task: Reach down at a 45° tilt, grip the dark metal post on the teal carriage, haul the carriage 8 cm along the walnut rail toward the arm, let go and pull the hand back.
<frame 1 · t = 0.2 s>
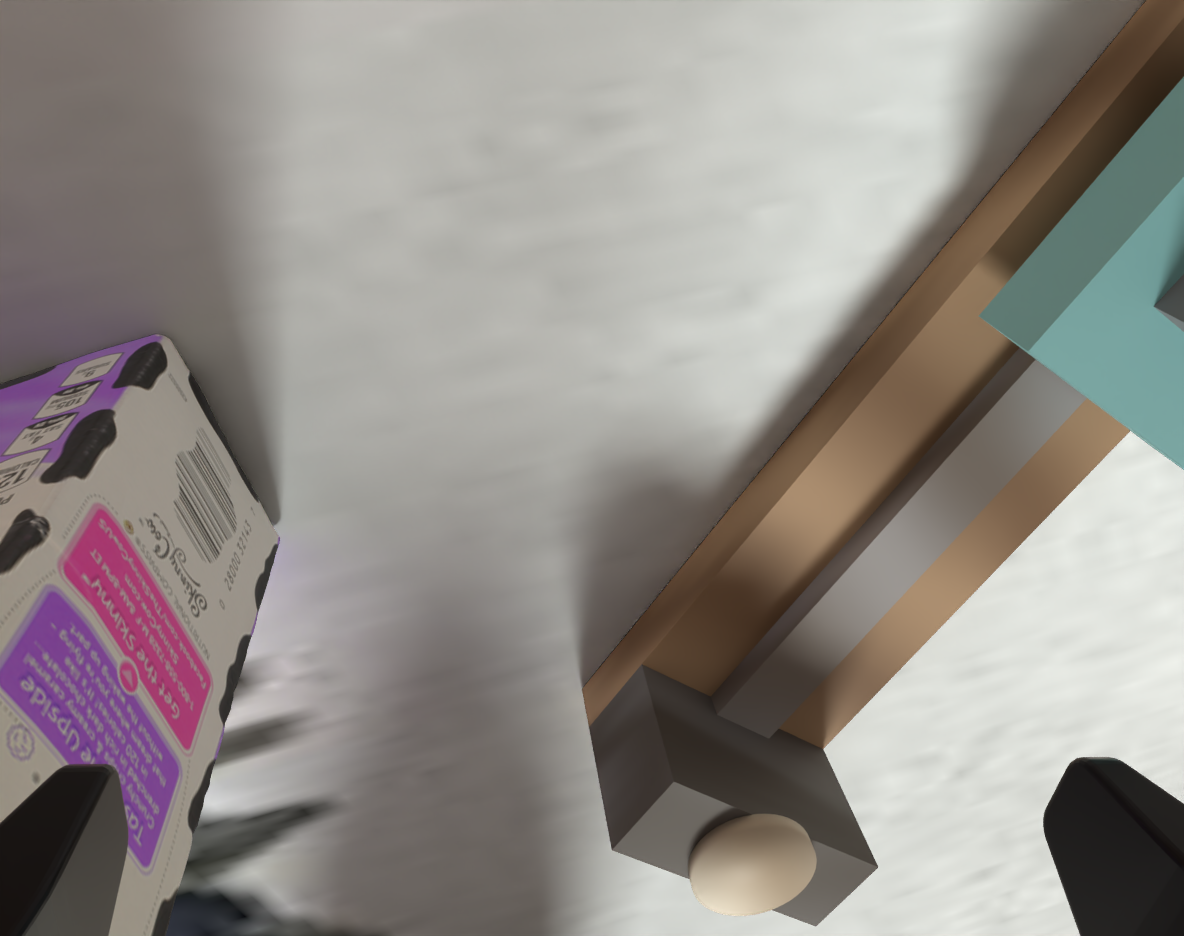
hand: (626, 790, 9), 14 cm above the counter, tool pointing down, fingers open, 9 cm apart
rail: (921, 445, 25), on the counter
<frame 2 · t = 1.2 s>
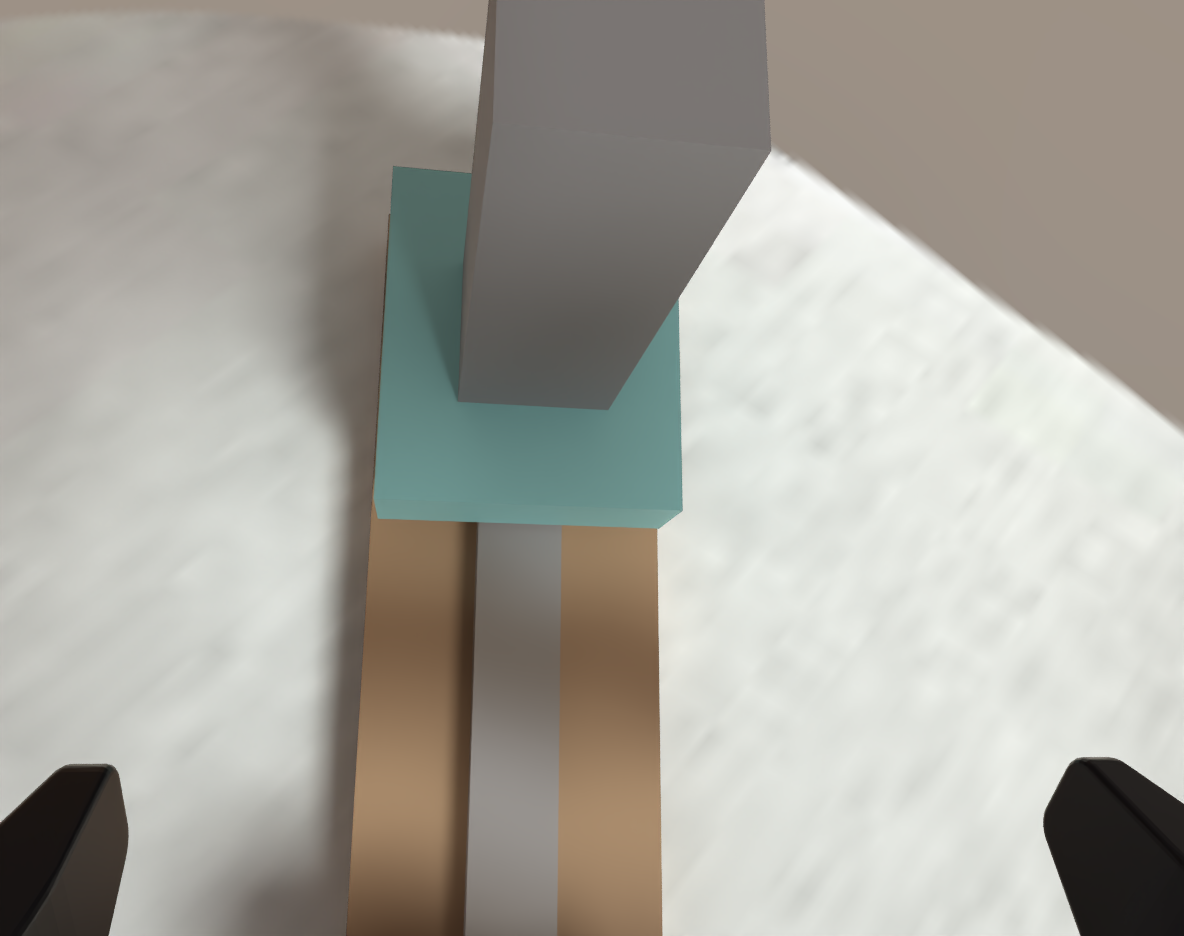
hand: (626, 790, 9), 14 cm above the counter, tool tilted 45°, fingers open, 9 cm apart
carriage: (561, 251, 16), point 8 cm above the counter, slide at 0.0 cm
rail: (507, 682, 22), on the counter
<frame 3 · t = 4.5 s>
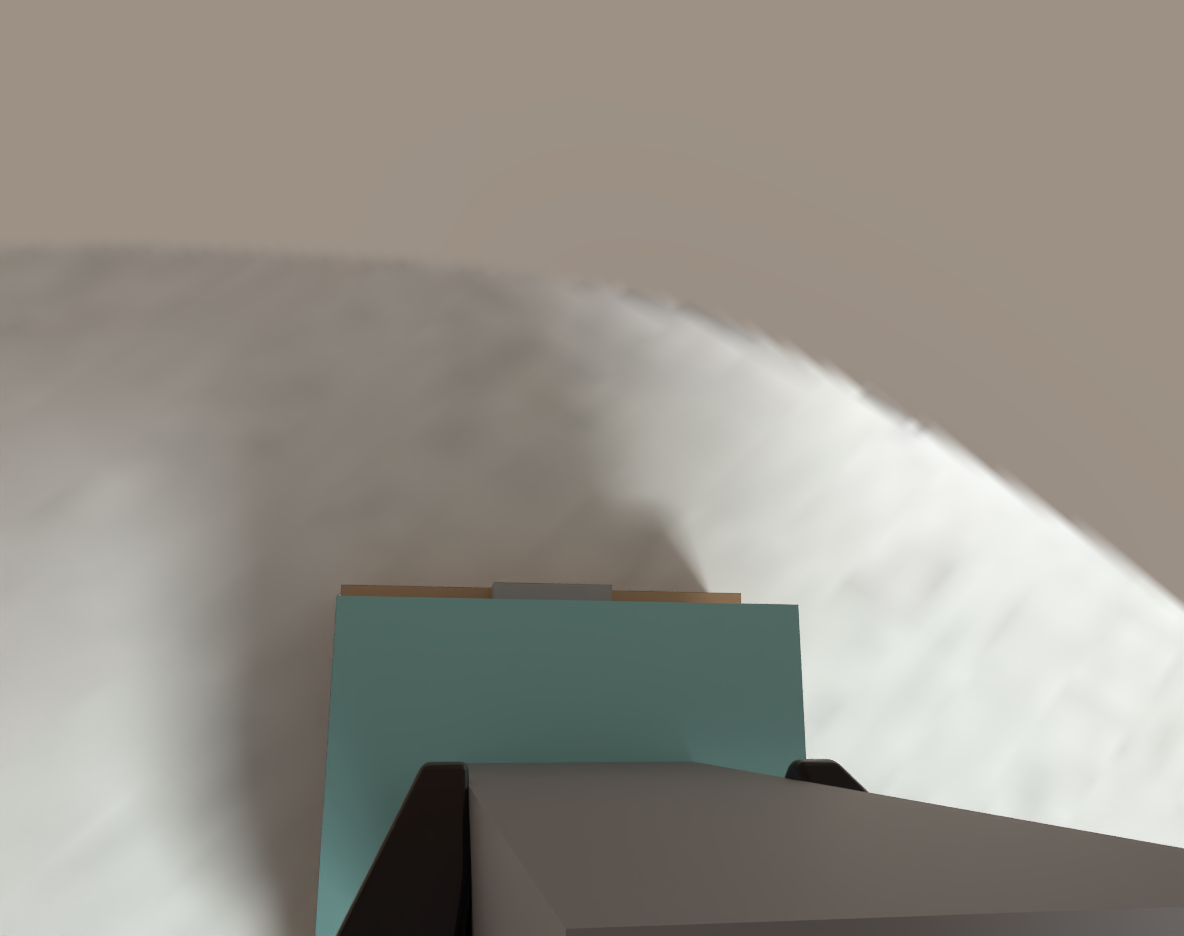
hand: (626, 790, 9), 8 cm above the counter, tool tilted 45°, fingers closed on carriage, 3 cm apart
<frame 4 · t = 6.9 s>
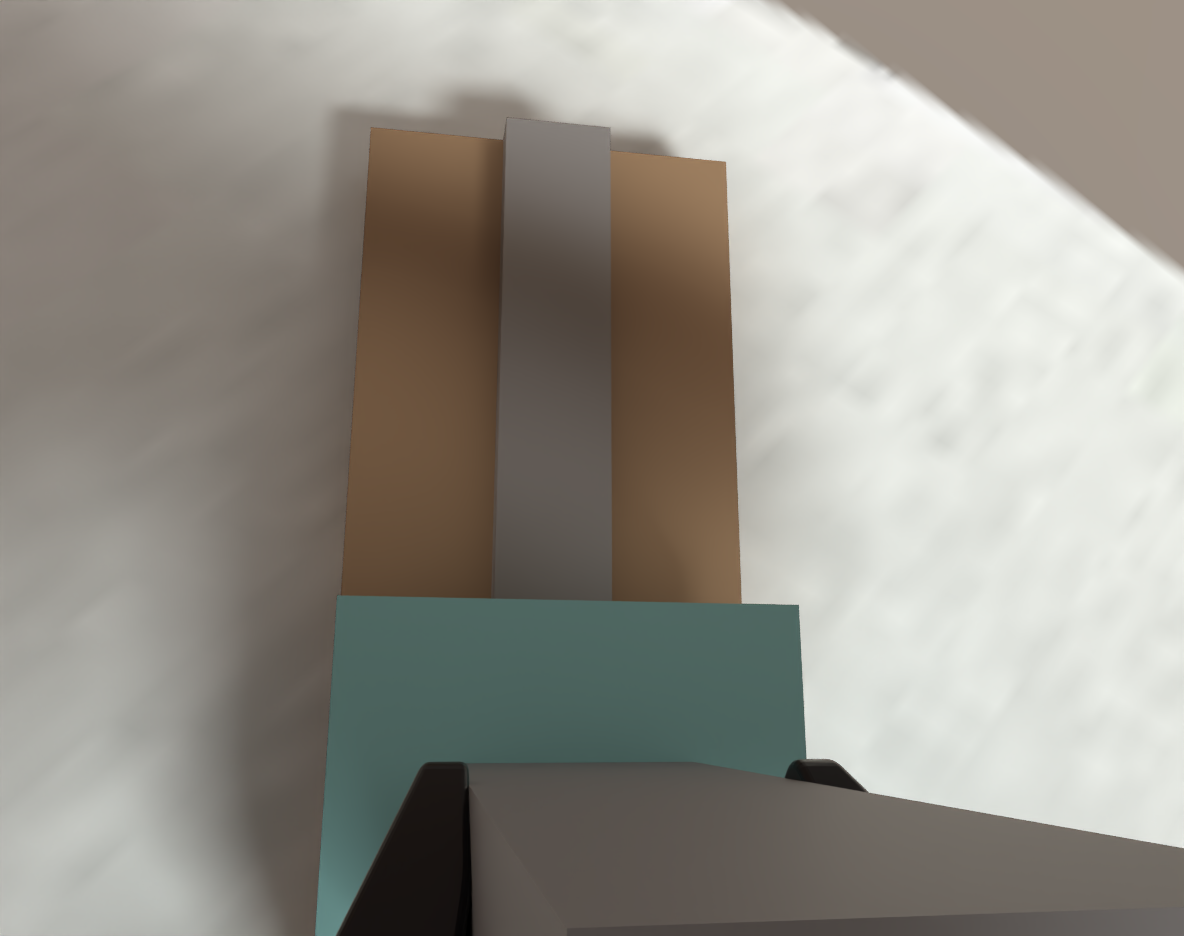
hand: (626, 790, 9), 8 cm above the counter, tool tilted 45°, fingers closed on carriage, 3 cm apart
rail: (534, 767, 16), on the counter
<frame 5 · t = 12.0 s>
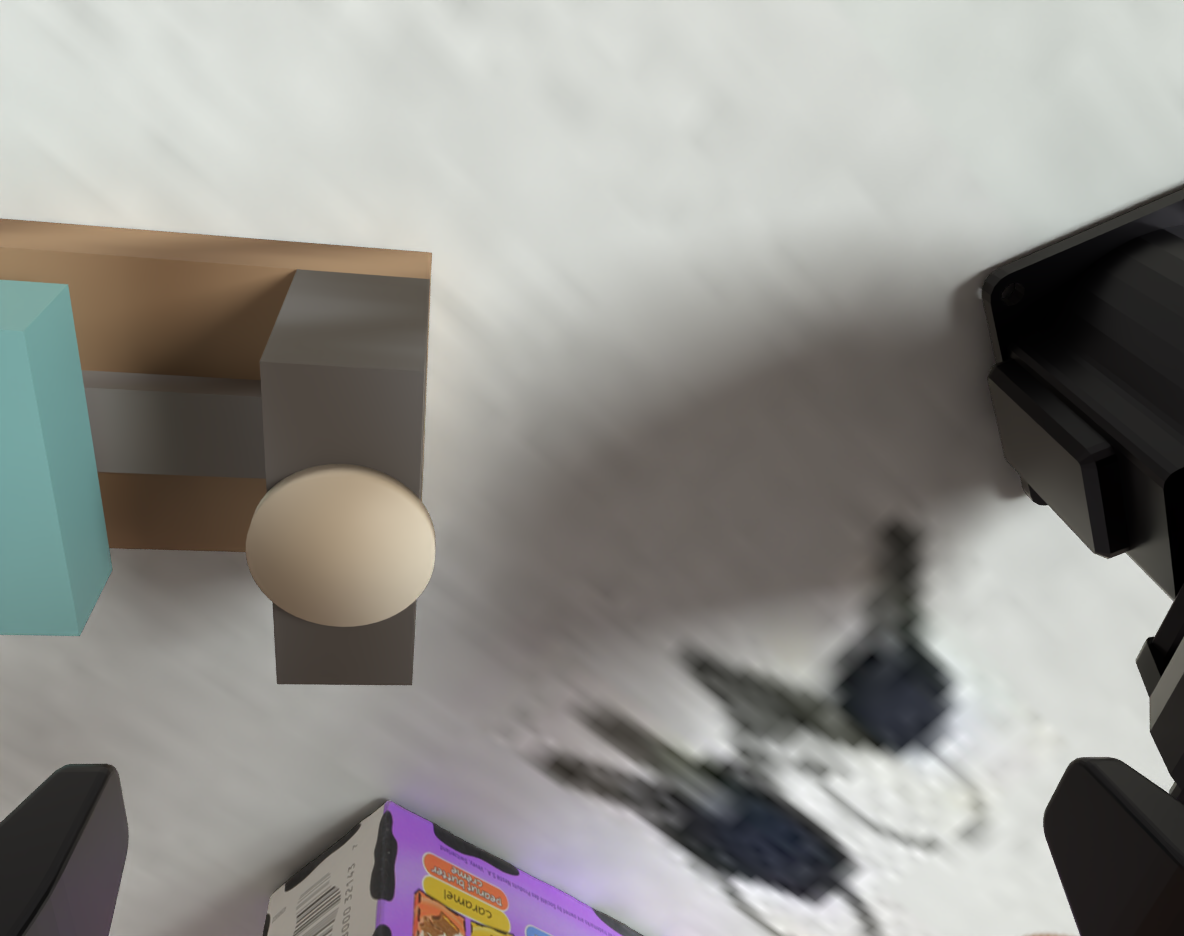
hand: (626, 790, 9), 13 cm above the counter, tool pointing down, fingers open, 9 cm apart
candy box: (498, 924, 31), on the counter
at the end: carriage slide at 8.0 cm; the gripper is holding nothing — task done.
